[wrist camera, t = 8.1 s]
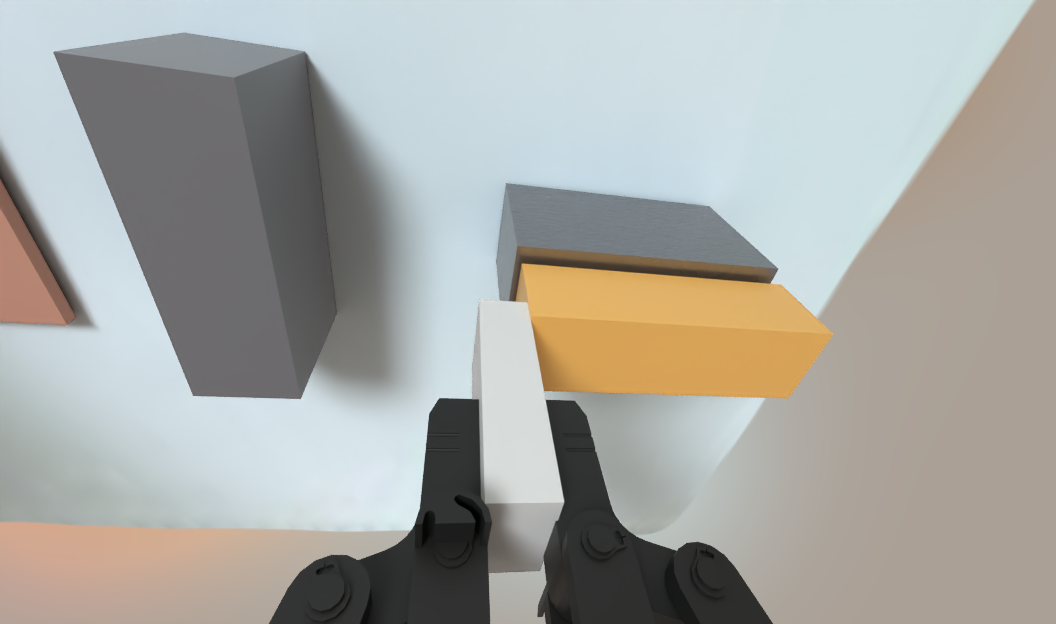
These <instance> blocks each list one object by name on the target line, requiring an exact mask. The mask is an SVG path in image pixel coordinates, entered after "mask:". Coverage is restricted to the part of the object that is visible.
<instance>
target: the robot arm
mask: <svg viewBox="0 0 1056 624" xmlns="http://www.w3.org/2000/svg"><path fill="white" fill-rule="evenodd" d="M543 561H544V564H545V573H546V581H547V584H546V586H545V589H544V591H543V594H542V597H541V599H540V602H539V605H538V617H542V616H543V614H544V612H545V619H546V624H773V623H772V622H771V620H770V619H769V617H768V616H767V614H766V613H765V611H764V610H763V608H762V607H761V605H760V604H759V602H758V601H757V599H756V598H755V596H754V595H753V593H752V592H751V590H750V589H749V587H748V586H747V584H746V583H745V581H744V580H743V578H742V577H741V576H740V574H739V573H738V571H737V569H736V568H735V567H734V565H733V564H732V563H731V562H730V561H729V560H728V559H727V557H726V556H725V555H724V554H722V553H721V552H719V551H718V550H717V549H715V548H713V547H712V546H710V545H707V544H704V543H700V542H692V543H686V544H685V545H683V546H682V547H681V548H679V549H678V550H677V551H675V550H672V549H669V548H666V547H663V546H660V545H657V544H653V543H651V542H647V541H645V540H643V539H640V538H638V537H636V536H635V535H633V534H632V533H630V532H629V531H628V530H627V529H626V528H625V527H624V526H623V525H622V524H621V523H620V522H619V520H618V519H617V517H616V516H615V514H614V512H613V510H612V507H611V504H610V501H609V497H608V493H607V490H606V486H605V482H604V479H603V475H602V471H601V468H600V464H599V460H598V457H597V453H596V452H595V446H594V442H593V438H592V437H591V431H590V427H589V424H588V420H587V416H586V415H585V414H584V412H583V411H582V410H581V408H580V407H579V406H578V404H577V403H576V402H575V401H564V400H545V394H544V389H543V383H542V378H541V372H540V367H539V361H538V356H537V351H536V345H535V340H534V334H533V329H532V323H531V320H530V315H529V309H528V304H527V302H512V301H497V300H482V299H479V307H478V316H477V326H476V335H475V344H474V354H473V363H472V399H449V398H439V400H438V401H437V403H436V404H435V406H434V407H433V409H432V411H431V412H430V414H429V422H428V433H427V443H426V453H425V463H424V473H423V483H422V494H421V504H420V510H419V513H418V516H417V519H416V522H415V525H414V527H413V529H412V530H411V532H410V533H409V534H408V535H407V536H406V537H405V538H404V539H403V540H402V541H400V542H399V543H398V544H397V545H395V546H393V547H391V548H389V549H387V550H385V551H382V552H380V553H377V554H374V555H371V556H369V557H366V558H363V559H361V560H356V559H354V558H352V557H350V556H347V555H331V556H327V557H324V558H322V559H319V560H316V561H314V562H313V563H312V564H310V565H309V566H308V567H306V568H305V569H303V570H302V571H301V572H300V573H299V574H298V576H297V577H296V578H295V580H294V581H293V582H292V584H291V585H290V586H289V588H288V589H287V591H286V593H285V595H284V597H283V599H282V600H281V603H280V604H279V606H278V608H277V610H276V612H275V614H274V616H273V617H272V619H271V621H270V623H269V624H490V604H489V574H488V573H501V572H525V571H540V569H541V567H542V564H543Z"/></svg>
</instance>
